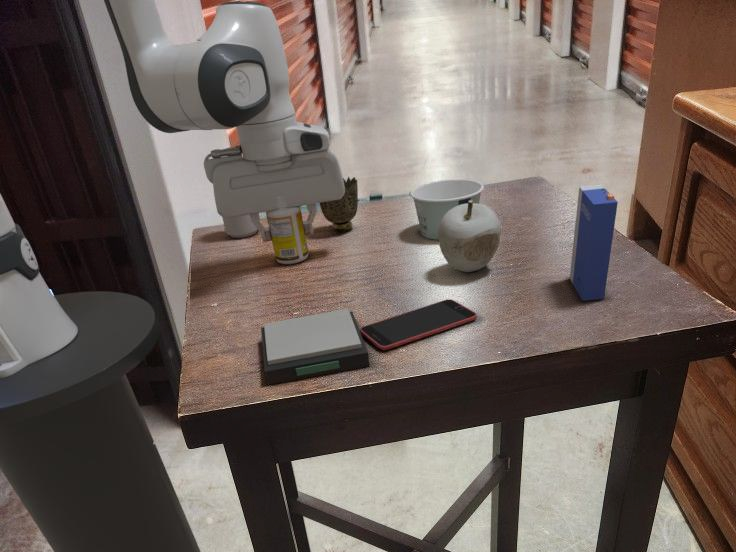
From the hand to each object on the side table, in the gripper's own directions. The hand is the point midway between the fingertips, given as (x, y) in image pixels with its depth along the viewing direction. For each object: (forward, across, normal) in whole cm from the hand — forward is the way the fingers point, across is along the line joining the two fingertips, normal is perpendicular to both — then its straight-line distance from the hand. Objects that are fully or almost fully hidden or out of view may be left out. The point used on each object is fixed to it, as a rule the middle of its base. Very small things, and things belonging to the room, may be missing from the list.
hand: (288, 236), depth 100 cm
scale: (+4, 0, -35) cm, 35 cm away
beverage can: (+4, -8, +19) cm, 21 cm away
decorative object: (+4, +25, -18) cm, 31 cm away
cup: (+4, +10, +11) cm, 15 cm away
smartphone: (+4, +14, -33) cm, 36 cm away
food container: (+4, +27, +1) cm, 27 cm away
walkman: (+4, +37, -31) cm, 48 cm away
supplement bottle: (+4, 0, 0) cm, 4 cm away
